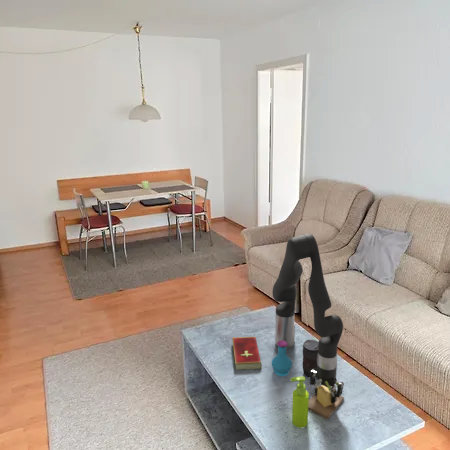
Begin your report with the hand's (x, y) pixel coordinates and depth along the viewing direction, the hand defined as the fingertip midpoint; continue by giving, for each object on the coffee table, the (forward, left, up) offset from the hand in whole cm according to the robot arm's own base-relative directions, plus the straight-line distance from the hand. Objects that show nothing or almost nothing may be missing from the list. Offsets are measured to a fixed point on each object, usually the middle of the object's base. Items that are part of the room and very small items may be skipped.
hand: (325, 398), depth 162 cm
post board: (0, 0, -3) cm, 3 cm away
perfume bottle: (-6, -25, -3) cm, 26 cm away
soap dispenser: (+15, -3, -3) cm, 15 cm away
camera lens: (-13, -14, -3) cm, 19 cm away
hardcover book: (-5, -44, -3) cm, 45 cm away
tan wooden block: (0, 0, -1) cm, 1 cm away
